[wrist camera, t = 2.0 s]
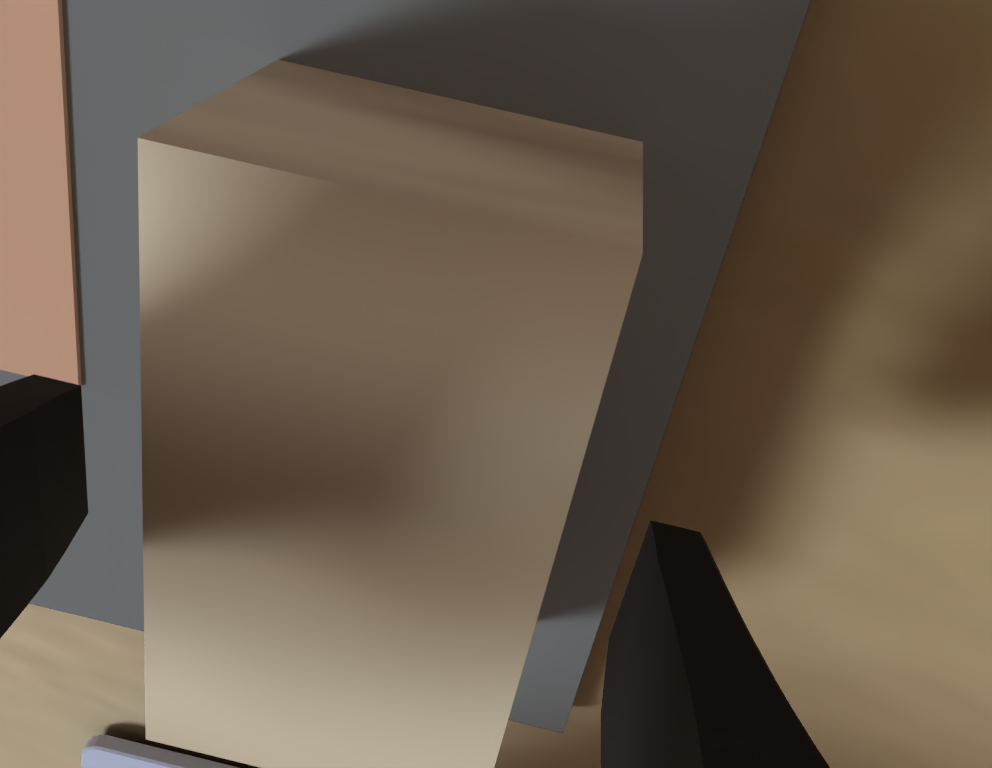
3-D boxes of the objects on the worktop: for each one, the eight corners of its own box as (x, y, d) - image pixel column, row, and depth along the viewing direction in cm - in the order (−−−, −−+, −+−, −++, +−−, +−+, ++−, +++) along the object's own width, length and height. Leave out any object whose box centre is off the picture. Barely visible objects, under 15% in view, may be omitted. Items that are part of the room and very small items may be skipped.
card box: (512, 623, 17) (478, 821, 13) (246, 560, 17) (145, 739, 14) (643, 142, 12) (642, 253, 9) (277, 59, 12) (137, 136, 9)
